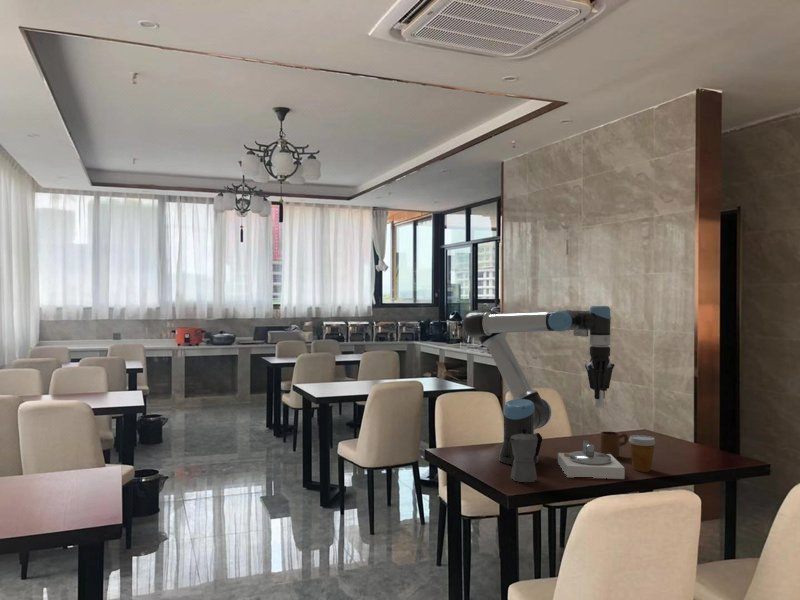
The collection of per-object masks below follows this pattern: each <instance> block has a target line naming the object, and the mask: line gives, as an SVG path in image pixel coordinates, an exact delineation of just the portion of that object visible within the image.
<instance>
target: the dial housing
mask: <svg viewBox="0 0 800 600" xmlns="http://www.w3.org/2000/svg"><path fill="white" fill-rule="evenodd" d="M569 453H570V452H557V464H558V465H560V466H559V467H560V468H562V469H561V470H562V472H563V471H564V472H563V473H564V475H565V474H566V475H567V476H566V475H565V476H566V478H574V477H593V478H592V479H606V478H607V479H611V480H612V479H614V480H625V477H626V476H625V473H626V472H625V470H626V469H625V467H624V466H623V465H622V464H621V463H620V461H618V459H617V458H614V457H613V456H612V455H611V454H607V455H609V456H610V457H611V462H610V463H609V464H604V465H588V464H581V463H577V462H573V461H571V460H570V459H569Z"/></svg>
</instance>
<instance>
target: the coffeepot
mask: <svg viewBox="0 0 800 600" xmlns="http://www.w3.org/2000/svg"><path fill="white" fill-rule="evenodd" d="M526 430H527V429H525V428H524V429H522V434H516V435H513V436H511V439H510V441H511V444H512V451H513V455H514V461H513V465H511V472H510V477H509V479H511V478H512V479H513V480H515V481H520V482H533V483H535V482H536V481H537V480H538V475H537V470H536V464H535V462H534V459H533V457H536V456H538V457H539V454H540V450H541V446H542V442H543V437H542V435H541V433H538V432H537V433H536V432H535V433H534V434H531V435H529V434H526ZM535 452H536V453H535ZM512 479H511V480H512ZM513 480H512V481H513ZM535 480H536V481H535ZM515 481H514V482H515ZM534 481H535V482H534Z"/></svg>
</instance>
